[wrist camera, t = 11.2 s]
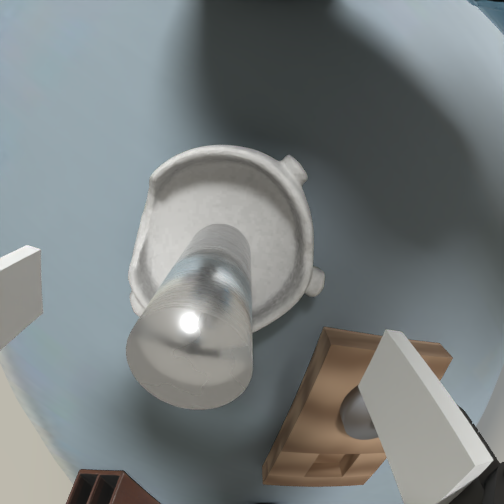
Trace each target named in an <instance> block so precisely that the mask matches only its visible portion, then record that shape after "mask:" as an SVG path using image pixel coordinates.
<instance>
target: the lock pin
mask: <svg viewBox="0 0 504 504" xmlns="http://www.w3.org/2000/svg"><path fill="white" fill-rule="evenodd" d="M126 356H127V361H128V364H129V367H130V369H131V371H132V374H133V375H134V377H135V378H136V380H137V381H138V382H139V383H140V385H141V386H142V387H143V388H144V389H146V390H147V391H148V392H149V393H150V394H152V395H153V396H155V397H156V398H158V399H160V400H162V401H163V402H165V403H168V404H170V405H173V406H177V407H180V408H185V409H193V410H205V409H212V408H217V407H220V406H223V405H226V404H228V403H230V402H232V401H233V400H235V399H236V398H237V397H239V396H240V395H241V394H242V393H243V392H244V391H245V389H246V388H247V386H248V385H249V382H250V380H251V377H252V373H253V341H252V287H251V250H250V246H249V243H248V241H247V239H246V237H245V236H244V235H243V234H242V233H241V232H240V231H239V230H238V229H236V228H234V227H232V226H230V225H227V224H212V225H208V226H206V227H204V228H202V229H201V230H199V231H198V232H197V233H196V234H195V236H194V237H193V238H192V240H191V241H190V243H189V244H188V246H187V247H186V248H185V250H184V251H183V253H182V254H181V256H180V257H179V259H178V260H177V262H176V263H175V265H174V266H173V268H172V269H171V270H170V272H169V273H168V275H167V276H166V278H165V279H164V281H163V282H162V284H161V285H160V287H159V288H158V290H157V292H156V293H155V295H154V296H153V298H152V299H151V301H150V302H149V304H148V305H147V307H146V308H145V310H144V312H143V313H142V315H141V316H140V318H139V319H138V321H137V323H136V324H135V326H134V327H133V329H132V331H131V332H130V334H129V337H128V340H127V345H126Z"/></svg>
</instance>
